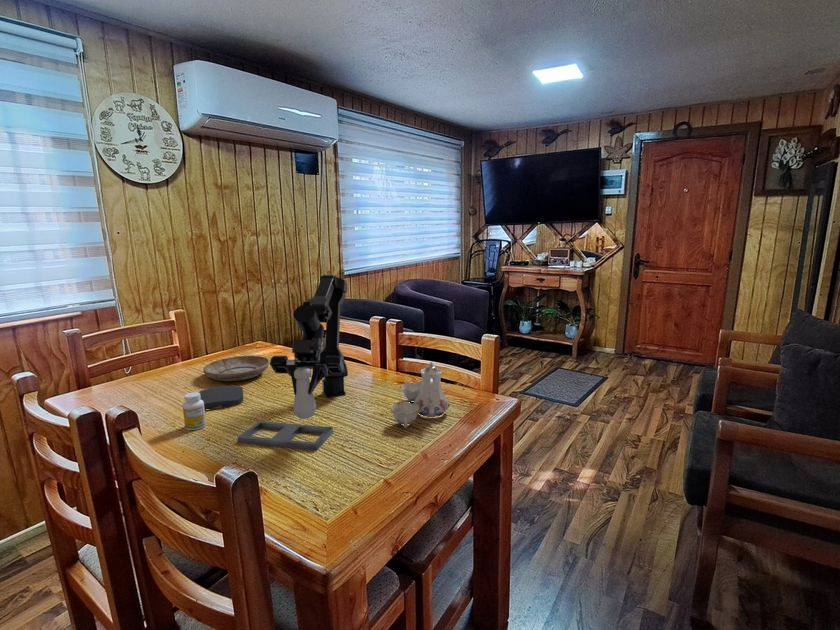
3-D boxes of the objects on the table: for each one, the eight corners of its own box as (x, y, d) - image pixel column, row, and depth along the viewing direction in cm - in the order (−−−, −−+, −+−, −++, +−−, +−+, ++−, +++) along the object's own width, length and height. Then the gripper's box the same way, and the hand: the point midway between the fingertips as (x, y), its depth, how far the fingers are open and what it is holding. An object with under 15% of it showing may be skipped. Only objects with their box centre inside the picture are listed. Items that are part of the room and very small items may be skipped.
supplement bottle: (190, 423, 130) (186, 391, 129) (209, 422, 131) (205, 390, 129) (182, 431, 125) (178, 398, 123) (202, 430, 126) (198, 397, 124)
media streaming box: (197, 396, 152) (196, 388, 151) (243, 391, 157) (242, 382, 156) (192, 413, 138) (191, 404, 138) (243, 406, 143) (242, 397, 143)
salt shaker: (315, 419, 116) (312, 371, 114) (292, 421, 115) (289, 373, 113) (317, 410, 122) (314, 364, 119) (295, 411, 121) (292, 365, 119)
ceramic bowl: (247, 363, 188) (246, 352, 187) (282, 373, 174) (281, 361, 173) (192, 378, 170) (190, 366, 169) (227, 391, 156) (226, 377, 155)
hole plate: (237, 442, 118) (237, 437, 118) (259, 425, 128) (259, 420, 128) (316, 450, 114) (316, 445, 113) (332, 432, 124) (332, 427, 123)
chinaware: (399, 400, 151) (393, 352, 148) (449, 395, 150) (444, 347, 147) (391, 439, 123) (383, 381, 120) (452, 433, 122) (445, 375, 119)
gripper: (269, 326, 118) (256, 380, 110) (339, 326, 118) (332, 381, 109) (281, 347, 128) (270, 398, 119) (346, 347, 127) (340, 399, 118)
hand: (302, 394), depth 116 cm, fingers closed on salt shaker, 3 cm apart
